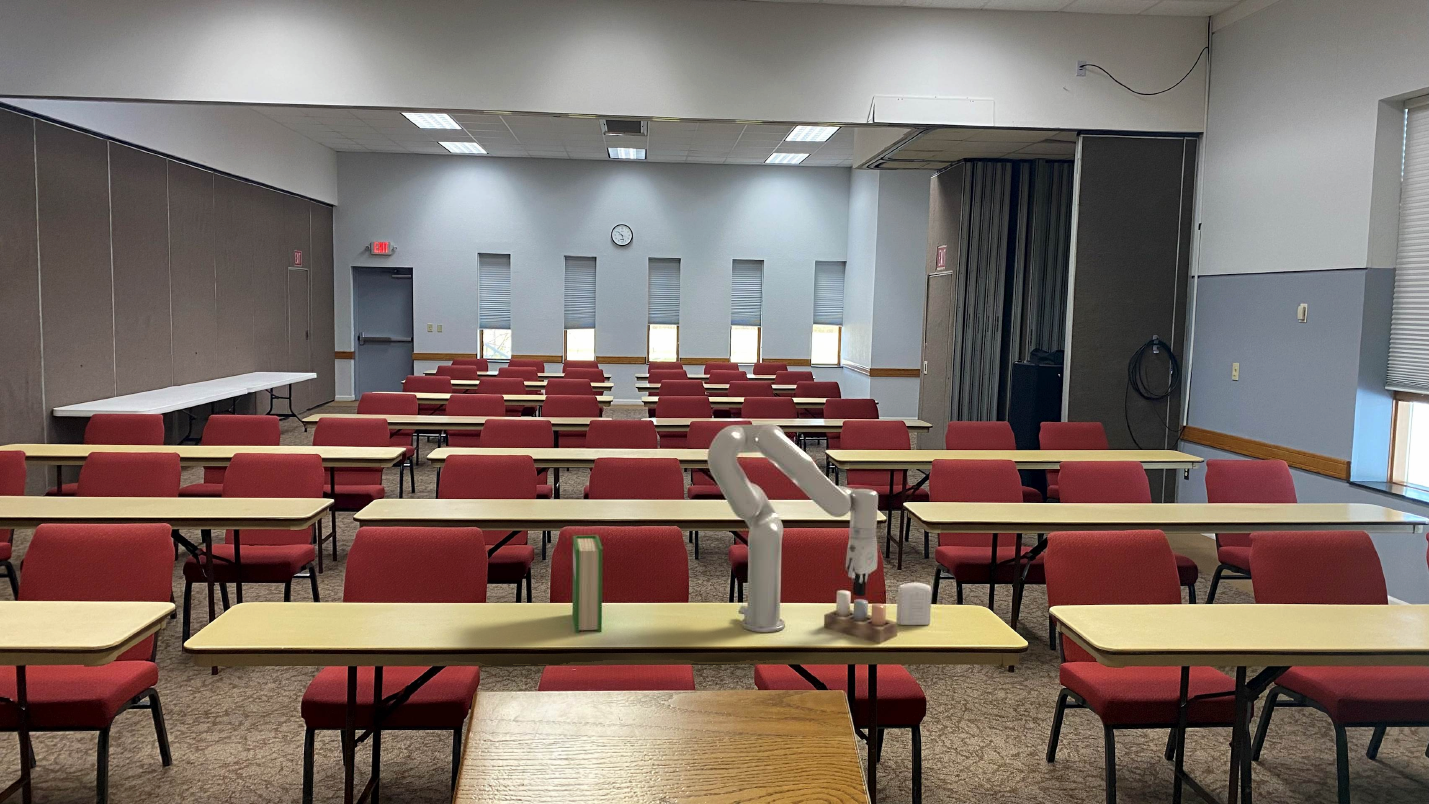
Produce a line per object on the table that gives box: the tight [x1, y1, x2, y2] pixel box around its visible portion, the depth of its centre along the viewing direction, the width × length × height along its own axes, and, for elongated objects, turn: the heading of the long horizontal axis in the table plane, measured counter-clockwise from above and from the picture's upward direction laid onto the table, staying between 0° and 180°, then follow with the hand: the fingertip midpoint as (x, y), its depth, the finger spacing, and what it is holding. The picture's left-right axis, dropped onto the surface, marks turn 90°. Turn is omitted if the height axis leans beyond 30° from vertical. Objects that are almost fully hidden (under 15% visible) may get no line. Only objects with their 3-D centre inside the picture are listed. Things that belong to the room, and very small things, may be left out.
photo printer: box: [895, 582, 932, 626], centre depth 271 cm, size 10×4×12 cm, turn 98°
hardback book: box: [571, 534, 604, 634], centre depth 265 cm, size 18×7×24 cm, turn 11°
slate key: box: [853, 598, 869, 622], centre depth 262 cm, size 4×4×7 cm
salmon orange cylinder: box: [870, 603, 887, 627], centre depth 258 cm, size 4×4×7 cm
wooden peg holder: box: [823, 609, 898, 644], centre depth 262 cm, size 19×9×4 cm, turn 48°
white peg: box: [835, 589, 852, 617], centre depth 266 cm, size 4×4×7 cm
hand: (858, 595), depth 262 cm, fingers closed
